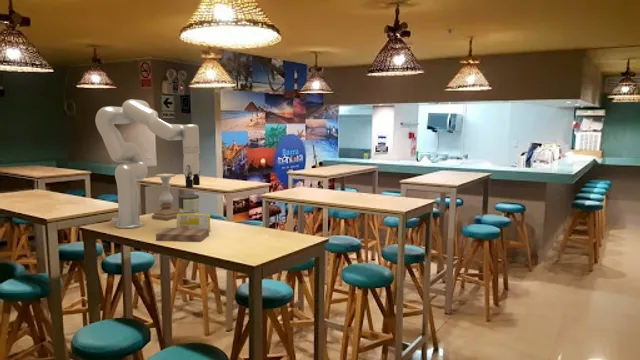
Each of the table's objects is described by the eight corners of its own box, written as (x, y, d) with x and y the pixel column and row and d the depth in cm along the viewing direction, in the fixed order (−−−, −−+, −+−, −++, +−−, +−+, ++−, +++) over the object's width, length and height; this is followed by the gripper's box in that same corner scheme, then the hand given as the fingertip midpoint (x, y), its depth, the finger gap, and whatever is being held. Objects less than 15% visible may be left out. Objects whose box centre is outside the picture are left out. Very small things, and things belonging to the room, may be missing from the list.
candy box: (210, 231, 222) (210, 214, 221) (209, 232, 220) (209, 215, 219) (178, 230, 223) (178, 213, 222) (176, 231, 221) (176, 214, 220)
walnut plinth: (155, 240, 202) (155, 233, 202) (166, 234, 214) (166, 227, 214) (200, 241, 201) (200, 235, 201) (208, 235, 213) (208, 229, 213)
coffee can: (175, 223, 238) (174, 196, 236) (186, 219, 247) (186, 193, 246) (192, 225, 235) (191, 197, 233) (203, 221, 244) (202, 194, 243)
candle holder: (166, 215, 258) (165, 173, 255) (181, 217, 253) (180, 174, 251) (151, 218, 248) (150, 174, 246) (166, 220, 244) (165, 176, 241)
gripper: (190, 149, 226) (191, 184, 228) (176, 151, 209) (178, 188, 211) (204, 149, 226) (206, 184, 228) (192, 151, 208) (194, 188, 210)
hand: (193, 186), depth 219 cm, fingers open, 9 cm apart
